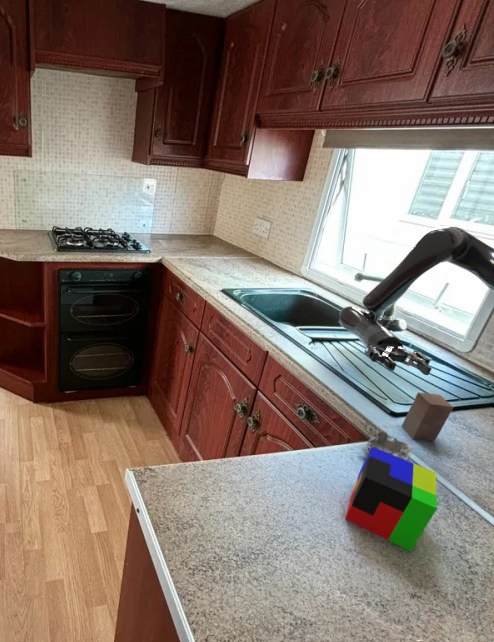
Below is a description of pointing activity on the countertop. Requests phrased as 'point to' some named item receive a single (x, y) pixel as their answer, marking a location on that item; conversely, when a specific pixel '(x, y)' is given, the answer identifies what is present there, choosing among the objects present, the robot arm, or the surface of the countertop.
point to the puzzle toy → (393, 498)
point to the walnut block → (427, 416)
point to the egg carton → (388, 445)
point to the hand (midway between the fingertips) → (411, 369)
